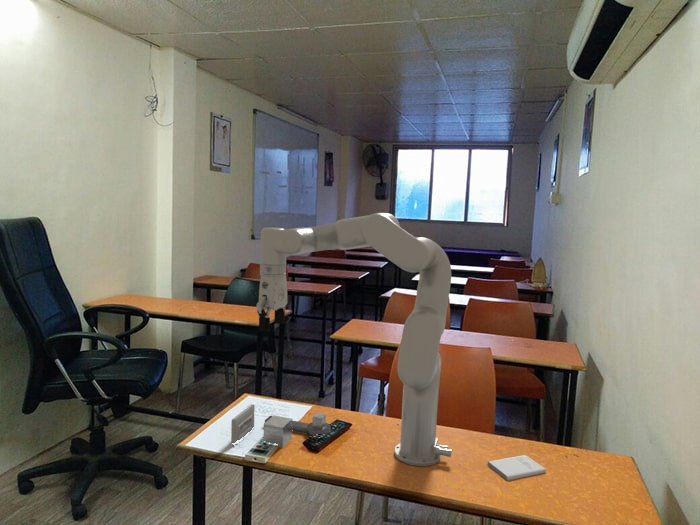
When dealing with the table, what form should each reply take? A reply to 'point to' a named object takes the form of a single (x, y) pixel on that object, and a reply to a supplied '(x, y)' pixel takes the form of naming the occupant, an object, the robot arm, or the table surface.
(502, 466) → the external hard drive
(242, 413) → the cassette
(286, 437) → the grey block
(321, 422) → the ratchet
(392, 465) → the table surface
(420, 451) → the robot arm
